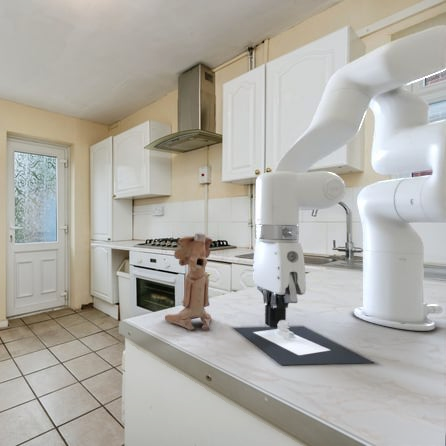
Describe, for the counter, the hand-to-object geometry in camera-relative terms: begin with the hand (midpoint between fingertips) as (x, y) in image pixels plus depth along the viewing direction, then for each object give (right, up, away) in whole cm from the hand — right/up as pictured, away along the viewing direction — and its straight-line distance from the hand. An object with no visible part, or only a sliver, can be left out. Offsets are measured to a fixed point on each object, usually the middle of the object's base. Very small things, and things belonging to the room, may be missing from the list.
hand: (275, 325), depth 55 cm
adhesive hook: (0, -2, -4) cm, 4 cm away
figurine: (-16, -2, +5) cm, 16 cm away
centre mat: (+1, -2, -5) cm, 5 cm away
